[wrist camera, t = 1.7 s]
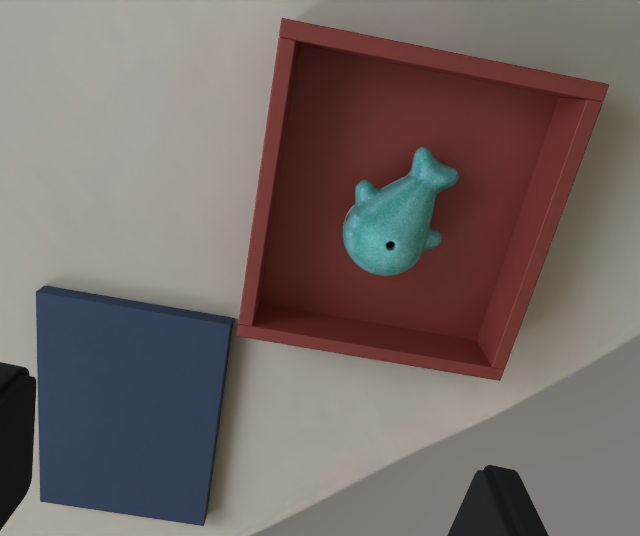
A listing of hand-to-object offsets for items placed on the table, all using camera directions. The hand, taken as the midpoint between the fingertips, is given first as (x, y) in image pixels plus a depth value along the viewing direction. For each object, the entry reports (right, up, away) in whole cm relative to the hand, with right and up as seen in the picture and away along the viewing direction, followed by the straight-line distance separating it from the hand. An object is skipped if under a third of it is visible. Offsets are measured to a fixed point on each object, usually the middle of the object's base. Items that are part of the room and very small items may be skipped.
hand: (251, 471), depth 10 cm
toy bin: (+6, +8, +19) cm, 21 cm away
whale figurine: (+6, +8, +19) cm, 21 cm away
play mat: (-12, -6, +24) cm, 27 cm away
